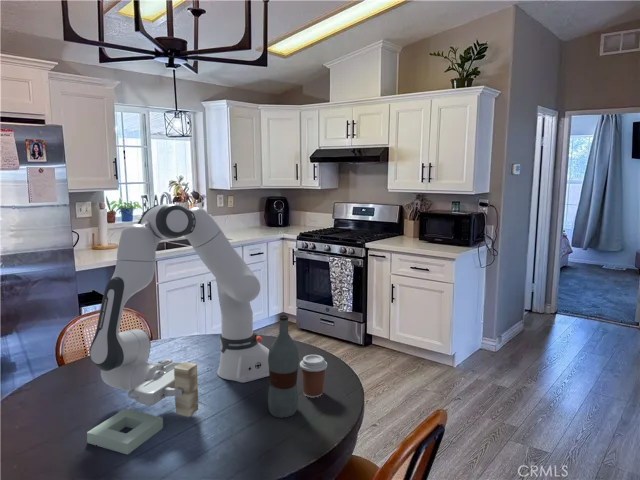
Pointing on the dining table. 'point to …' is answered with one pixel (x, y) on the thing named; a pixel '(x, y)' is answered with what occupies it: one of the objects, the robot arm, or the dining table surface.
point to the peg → (186, 388)
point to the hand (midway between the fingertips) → (188, 387)
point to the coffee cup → (313, 375)
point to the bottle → (283, 373)
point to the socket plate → (123, 442)
